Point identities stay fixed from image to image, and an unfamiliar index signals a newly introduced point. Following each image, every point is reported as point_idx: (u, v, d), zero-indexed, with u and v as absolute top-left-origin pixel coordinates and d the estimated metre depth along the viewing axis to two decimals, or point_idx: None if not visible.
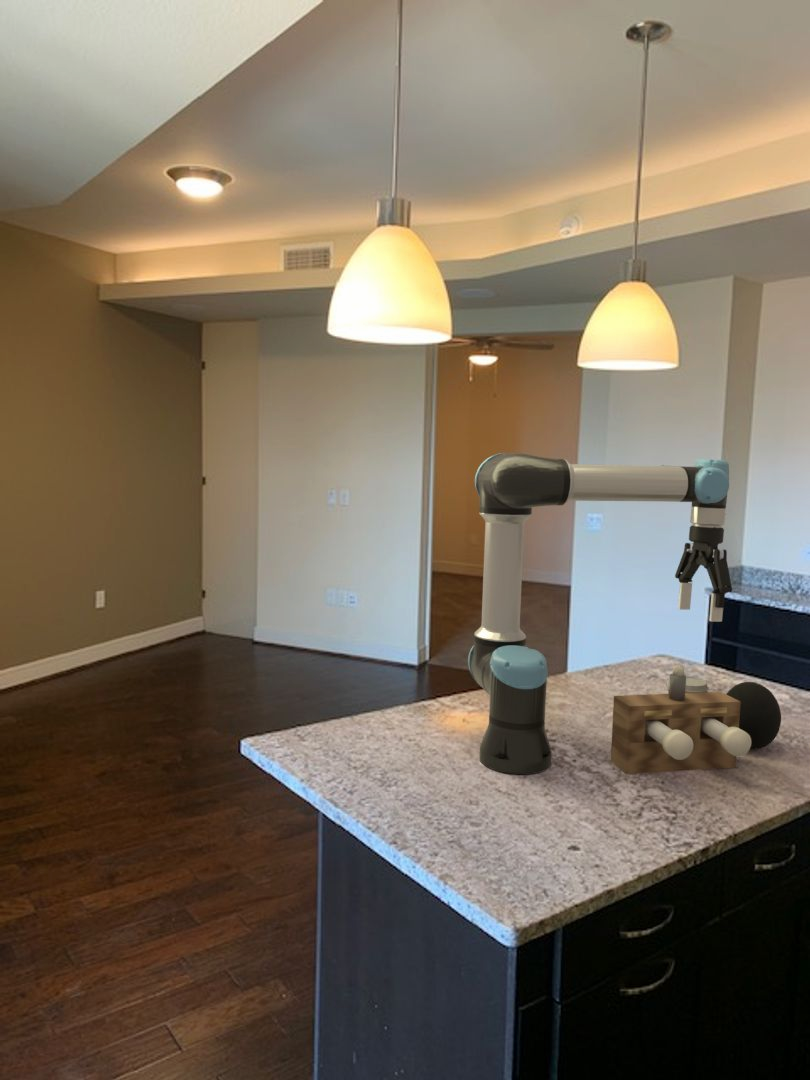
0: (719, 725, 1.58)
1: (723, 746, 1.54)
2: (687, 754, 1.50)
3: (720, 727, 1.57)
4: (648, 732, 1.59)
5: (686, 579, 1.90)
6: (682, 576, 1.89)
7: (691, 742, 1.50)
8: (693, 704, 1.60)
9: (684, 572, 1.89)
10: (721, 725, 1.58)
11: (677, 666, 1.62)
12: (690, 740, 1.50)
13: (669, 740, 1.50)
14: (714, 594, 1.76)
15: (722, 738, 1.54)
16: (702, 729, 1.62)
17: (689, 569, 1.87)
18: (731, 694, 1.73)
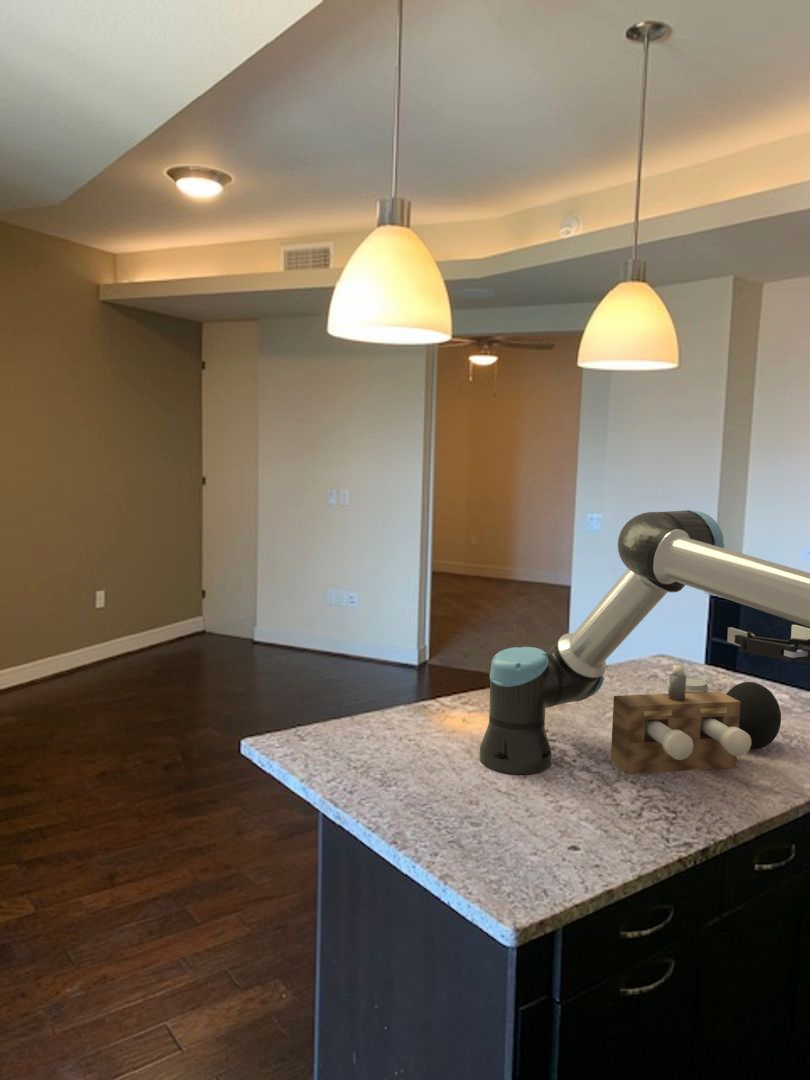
0: (719, 725, 1.58)
1: (723, 746, 1.54)
2: (687, 754, 1.50)
3: (720, 727, 1.57)
4: (648, 732, 1.59)
5: None
6: None
7: (691, 742, 1.50)
8: (693, 704, 1.60)
9: None
10: (721, 725, 1.58)
11: (677, 666, 1.62)
12: (690, 740, 1.50)
13: (669, 740, 1.50)
14: None
15: (722, 738, 1.54)
16: (702, 729, 1.62)
17: None
18: (731, 694, 1.73)
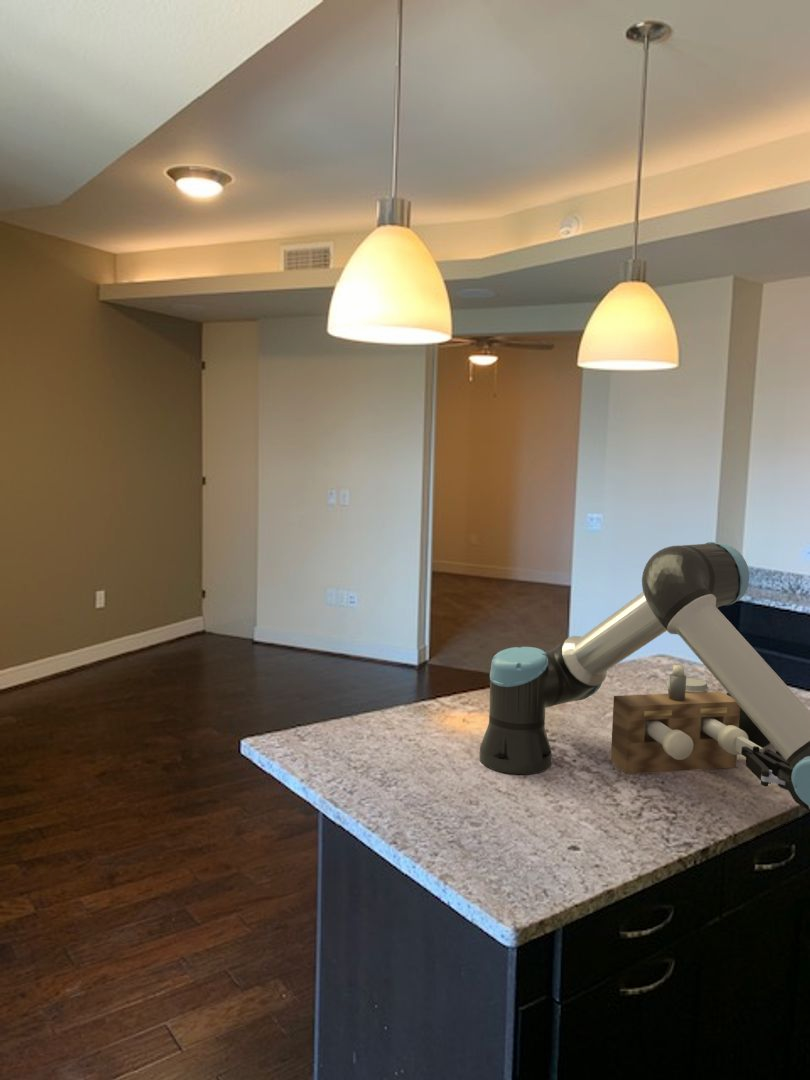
0: (716, 724, 1.59)
1: (720, 744, 1.54)
2: (687, 754, 1.50)
3: (717, 726, 1.58)
4: (648, 732, 1.59)
5: None
6: (772, 753, 1.45)
7: (691, 742, 1.50)
8: (693, 704, 1.60)
9: (777, 756, 1.44)
10: (718, 724, 1.58)
11: (677, 666, 1.62)
12: (690, 740, 1.50)
13: (669, 740, 1.50)
14: None
15: (719, 736, 1.54)
16: (700, 728, 1.63)
17: (781, 761, 1.42)
18: None
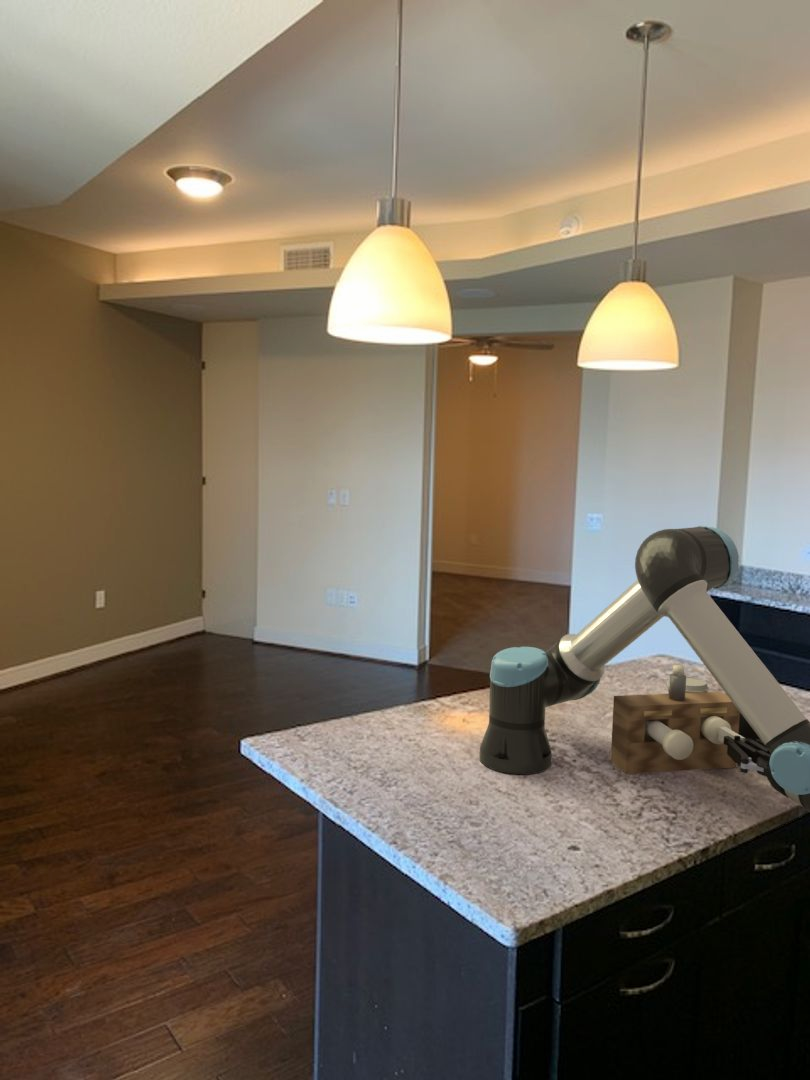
0: None
1: (704, 734, 1.60)
2: (687, 754, 1.50)
3: (702, 717, 1.63)
4: (648, 732, 1.59)
5: None
6: (753, 742, 1.50)
7: (691, 742, 1.50)
8: (693, 704, 1.60)
9: (757, 744, 1.49)
10: None
11: (677, 666, 1.62)
12: (690, 740, 1.50)
13: (669, 740, 1.50)
14: None
15: (703, 727, 1.60)
16: None
17: (761, 749, 1.47)
18: None
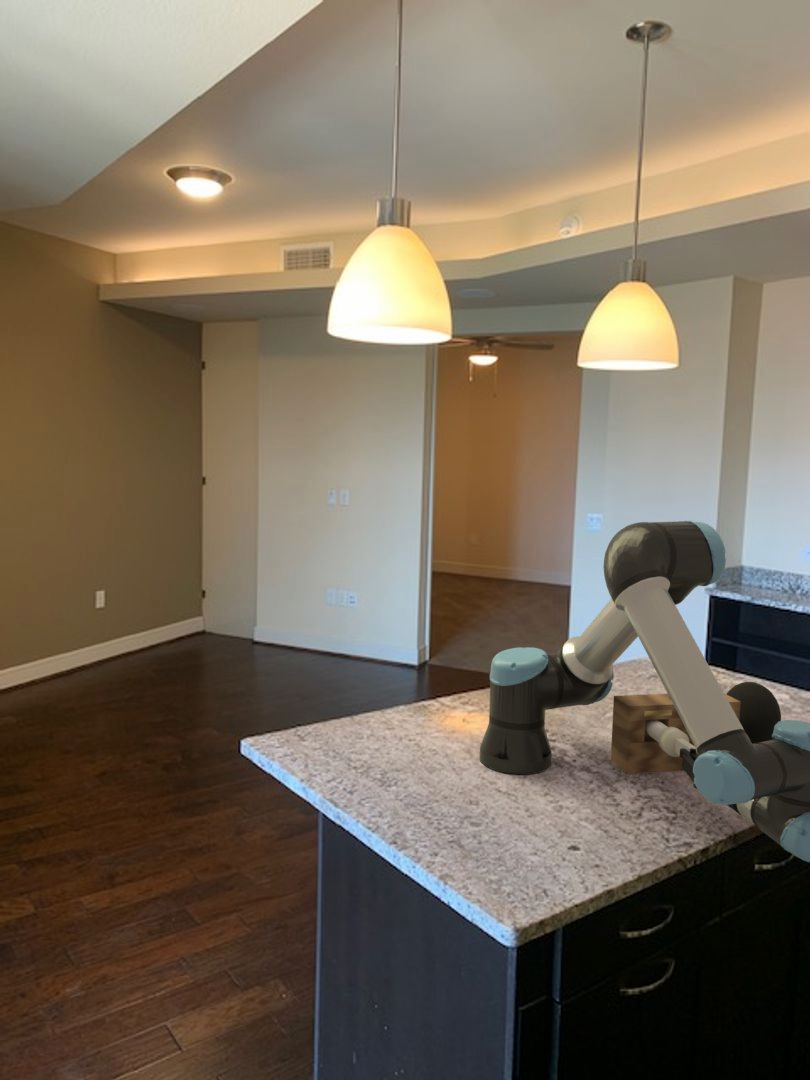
0: None
1: None
2: None
3: None
4: None
5: None
6: None
7: (687, 739, 1.52)
8: None
9: None
10: None
11: None
12: (685, 737, 1.52)
13: (665, 737, 1.51)
14: None
15: None
16: None
17: None
18: (731, 694, 1.74)
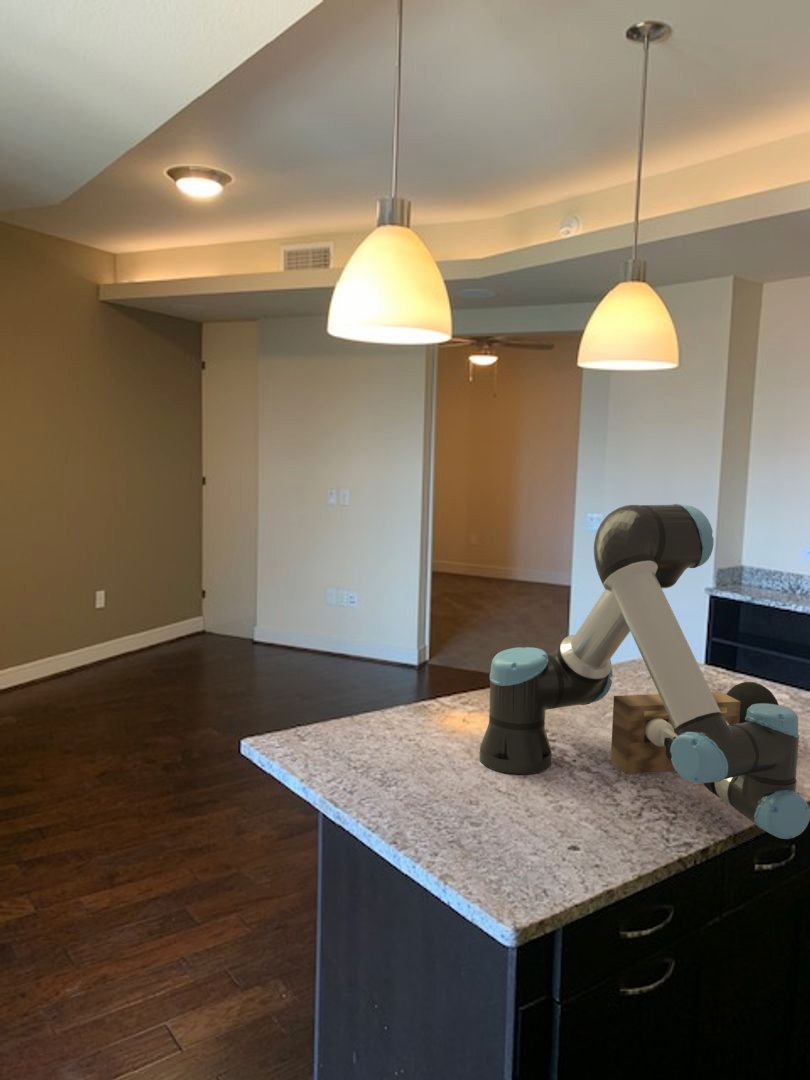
0: None
1: None
2: None
3: None
4: None
5: None
6: None
7: (672, 730, 1.57)
8: None
9: None
10: None
11: None
12: (671, 727, 1.57)
13: (651, 728, 1.57)
14: None
15: None
16: None
17: None
18: (731, 694, 1.73)
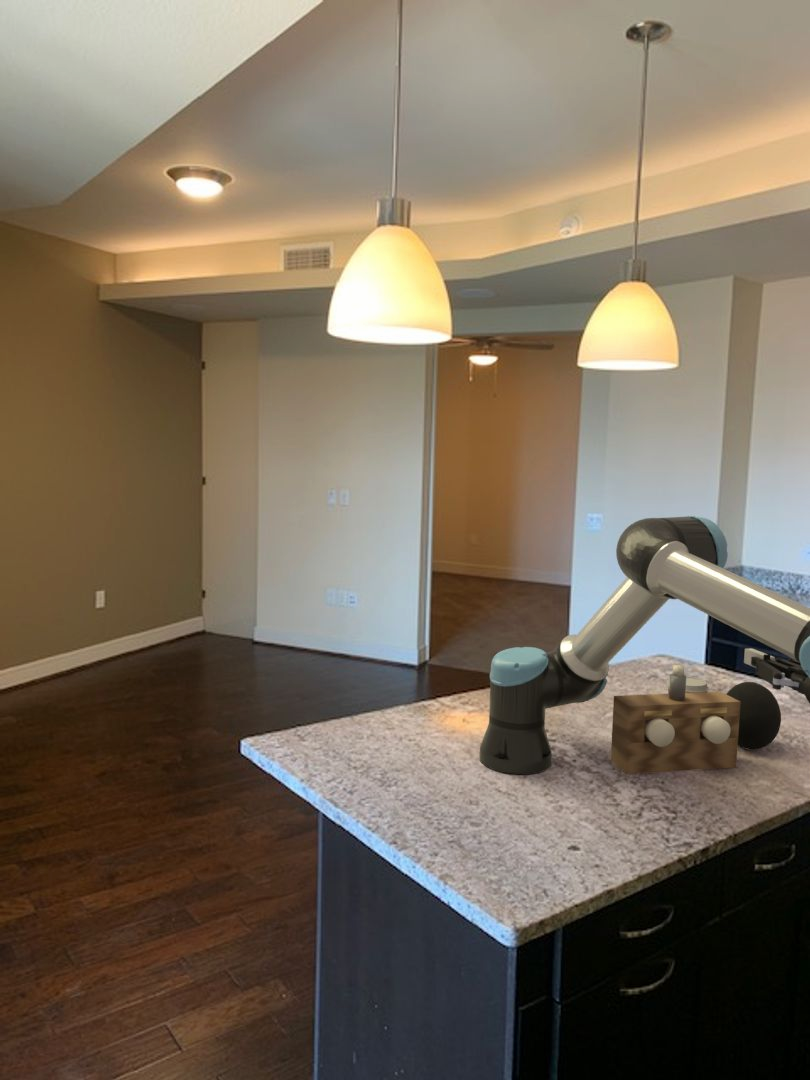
0: None
1: (703, 734, 1.60)
2: (669, 741, 1.57)
3: None
4: None
5: None
6: (784, 660, 1.37)
7: (672, 730, 1.57)
8: (693, 704, 1.60)
9: (789, 662, 1.35)
10: None
11: (677, 666, 1.62)
12: (671, 728, 1.57)
13: (651, 728, 1.57)
14: None
15: (702, 726, 1.60)
16: None
17: (793, 667, 1.34)
18: (731, 694, 1.73)
